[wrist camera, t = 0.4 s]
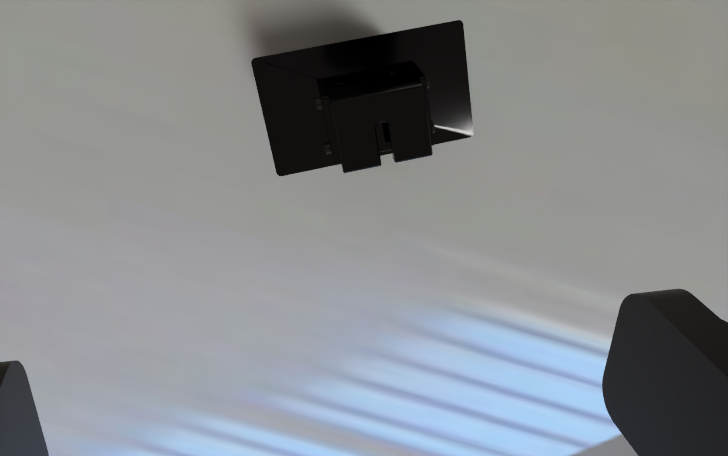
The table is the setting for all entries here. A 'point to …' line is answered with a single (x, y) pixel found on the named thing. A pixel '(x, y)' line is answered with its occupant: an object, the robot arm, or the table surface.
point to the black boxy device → (366, 99)
